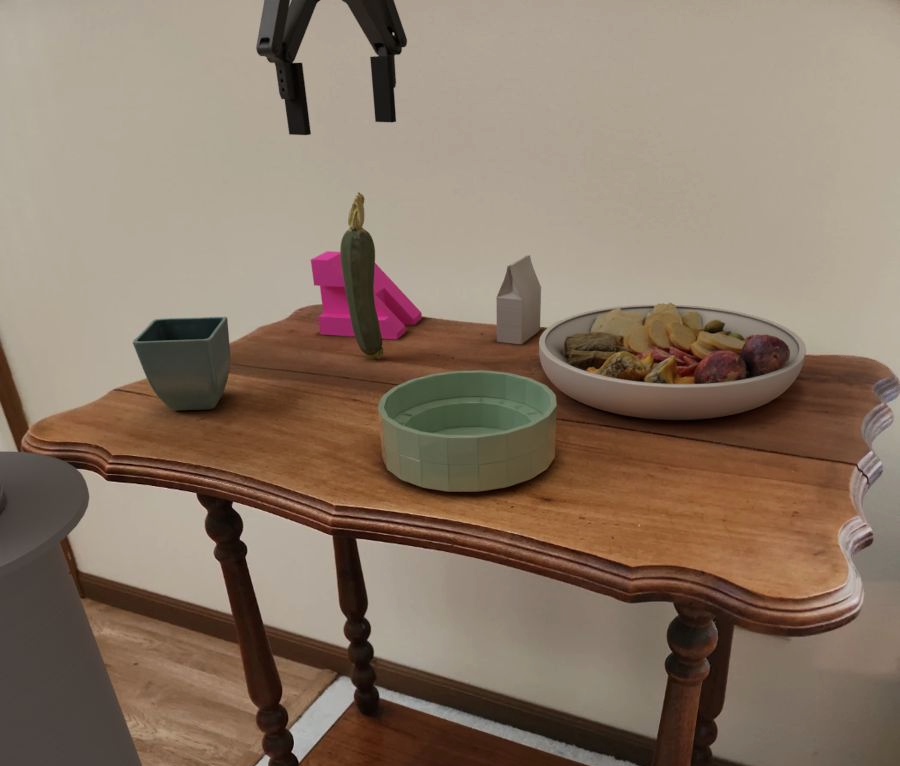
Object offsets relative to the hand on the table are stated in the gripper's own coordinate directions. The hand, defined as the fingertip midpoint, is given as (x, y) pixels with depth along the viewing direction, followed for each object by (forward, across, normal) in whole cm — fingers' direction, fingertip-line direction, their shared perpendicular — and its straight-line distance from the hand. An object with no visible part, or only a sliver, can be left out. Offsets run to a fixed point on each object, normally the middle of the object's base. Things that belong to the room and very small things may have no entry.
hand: (344, 128), depth 92 cm
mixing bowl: (+27, -16, -30) cm, 43 cm away
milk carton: (+27, +19, -11) cm, 35 cm away
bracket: (+27, +11, +10) cm, 31 cm away
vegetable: (+27, 0, 0) cm, 27 cm away
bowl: (+27, +14, -36) cm, 47 cm away
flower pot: (+27, -23, +6) cm, 36 cm away
